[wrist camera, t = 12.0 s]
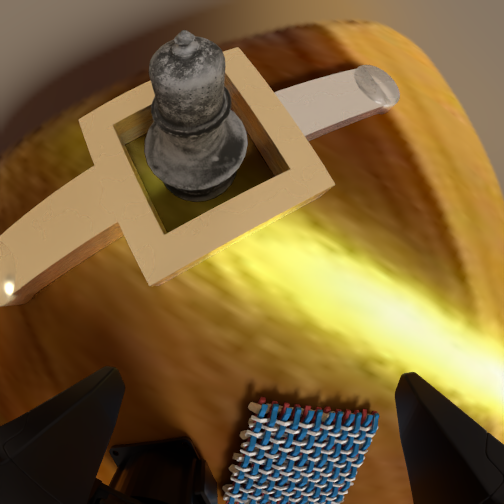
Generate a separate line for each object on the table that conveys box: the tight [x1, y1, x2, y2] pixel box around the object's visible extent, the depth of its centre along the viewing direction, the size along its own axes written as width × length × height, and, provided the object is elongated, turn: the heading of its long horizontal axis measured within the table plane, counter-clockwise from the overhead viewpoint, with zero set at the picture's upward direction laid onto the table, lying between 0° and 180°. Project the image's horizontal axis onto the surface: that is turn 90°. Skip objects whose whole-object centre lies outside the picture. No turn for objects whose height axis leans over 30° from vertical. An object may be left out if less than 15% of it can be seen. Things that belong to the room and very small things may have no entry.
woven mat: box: [222, 397, 379, 504], centre depth 17 cm, size 10×11×2 cm
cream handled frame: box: [119, 65, 400, 286], centre depth 19 cm, size 24×12×2 cm, turn 120°
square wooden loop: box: [0, 47, 335, 306], centre depth 17 cm, size 24×12×3 cm, turn 120°
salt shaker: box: [144, 30, 248, 202], centre depth 13 cm, size 6×6×12 cm
